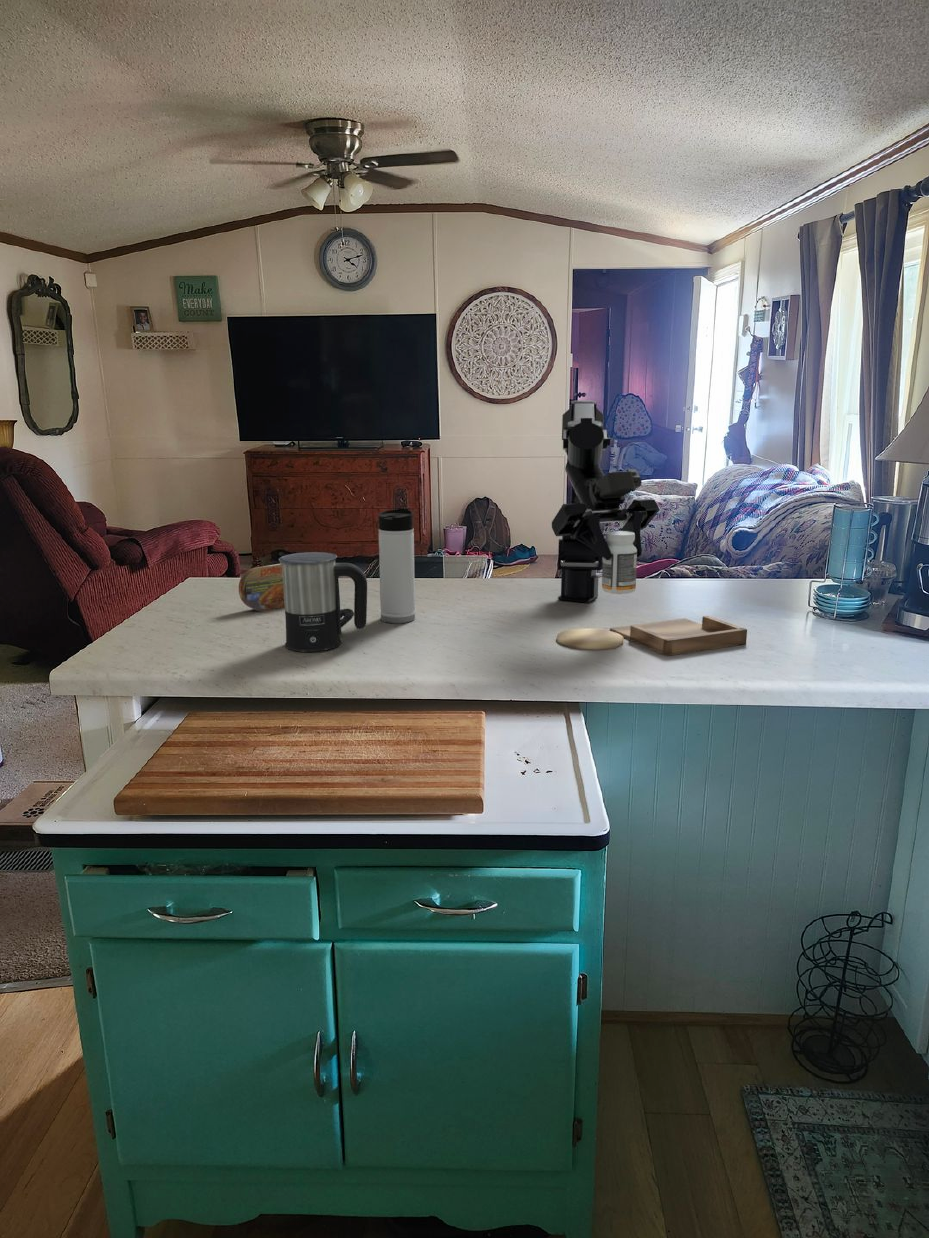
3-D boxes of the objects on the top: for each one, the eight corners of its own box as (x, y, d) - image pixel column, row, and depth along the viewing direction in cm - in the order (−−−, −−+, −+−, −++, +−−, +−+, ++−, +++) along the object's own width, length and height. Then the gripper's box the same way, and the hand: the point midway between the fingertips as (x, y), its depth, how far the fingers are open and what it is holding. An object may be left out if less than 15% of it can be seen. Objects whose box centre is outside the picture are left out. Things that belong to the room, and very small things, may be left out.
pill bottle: (637, 588, 150) (639, 531, 147) (633, 595, 144) (636, 536, 142) (603, 586, 151) (605, 529, 149) (599, 593, 146) (601, 534, 143)
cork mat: (547, 644, 144) (547, 641, 144) (570, 628, 154) (570, 625, 153) (611, 653, 139) (612, 649, 139) (631, 636, 149) (631, 633, 149)
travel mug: (421, 616, 162) (420, 508, 157) (404, 625, 156) (402, 513, 151) (392, 613, 164) (390, 506, 159) (374, 621, 159) (371, 511, 154)
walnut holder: (609, 631, 152) (610, 617, 151) (684, 621, 158) (685, 608, 158) (666, 655, 138) (667, 640, 137) (746, 644, 144) (747, 629, 144)
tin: (245, 614, 164) (242, 570, 162) (237, 611, 166) (234, 567, 164) (315, 602, 173) (314, 560, 171) (308, 599, 176) (306, 558, 173)
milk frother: (293, 656, 138) (288, 563, 134) (266, 632, 152) (261, 548, 148) (377, 644, 144) (374, 556, 141) (344, 622, 158) (341, 541, 154)
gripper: (562, 454, 142) (598, 531, 135) (655, 451, 149) (694, 524, 143) (536, 498, 150) (569, 572, 144) (626, 493, 158) (661, 563, 151)
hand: (624, 557), depth 145 cm, fingers closed on pill bottle, 6 cm apart
